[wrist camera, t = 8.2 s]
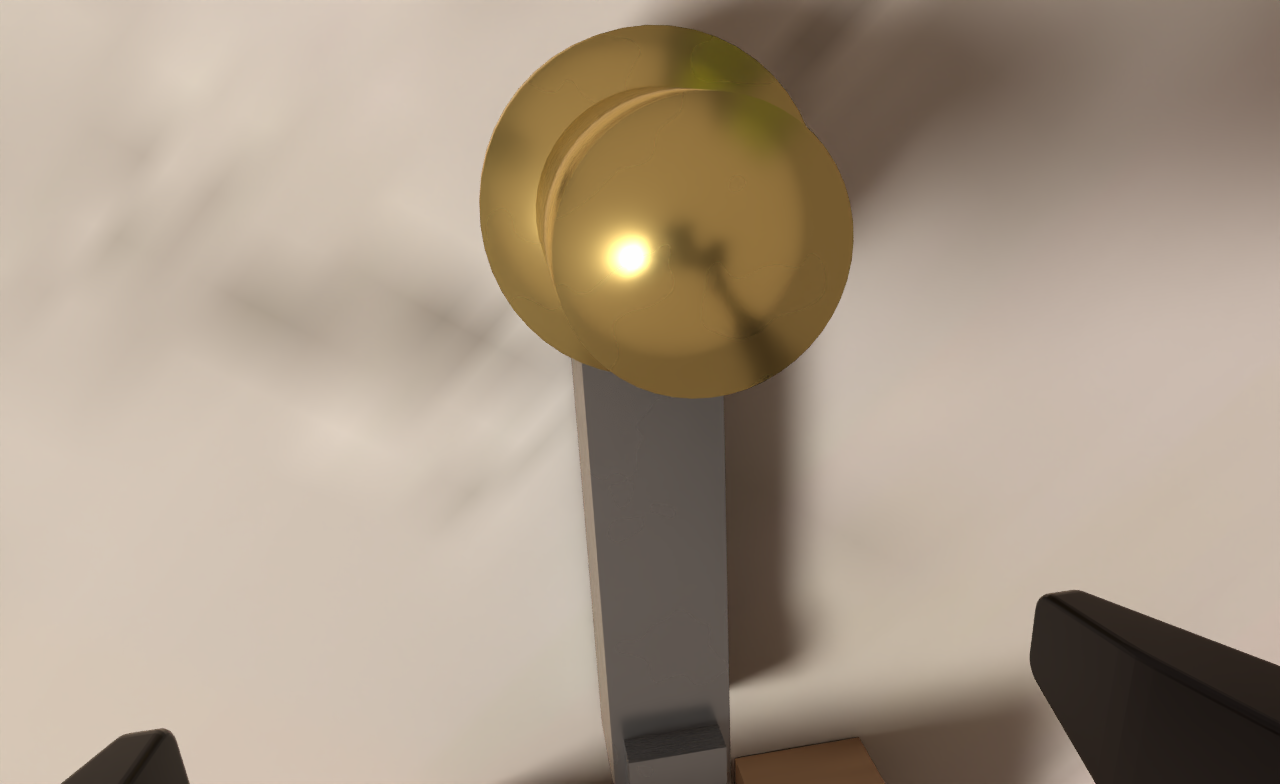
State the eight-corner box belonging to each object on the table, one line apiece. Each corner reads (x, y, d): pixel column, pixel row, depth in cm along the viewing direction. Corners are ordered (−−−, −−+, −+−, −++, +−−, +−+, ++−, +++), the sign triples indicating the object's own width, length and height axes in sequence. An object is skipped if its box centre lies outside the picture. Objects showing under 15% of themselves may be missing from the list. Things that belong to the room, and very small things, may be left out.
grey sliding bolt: (759, 696, 25) (873, 952, 18) (542, 731, 25) (568, 1015, 17) (757, 27, 19) (932, -2, 12) (463, 42, 18) (450, 20, 11)
